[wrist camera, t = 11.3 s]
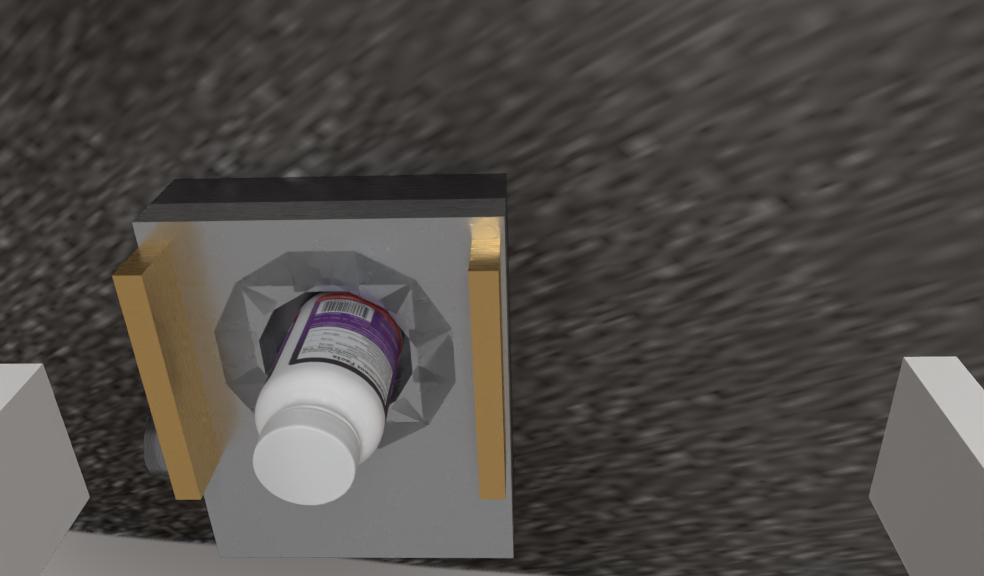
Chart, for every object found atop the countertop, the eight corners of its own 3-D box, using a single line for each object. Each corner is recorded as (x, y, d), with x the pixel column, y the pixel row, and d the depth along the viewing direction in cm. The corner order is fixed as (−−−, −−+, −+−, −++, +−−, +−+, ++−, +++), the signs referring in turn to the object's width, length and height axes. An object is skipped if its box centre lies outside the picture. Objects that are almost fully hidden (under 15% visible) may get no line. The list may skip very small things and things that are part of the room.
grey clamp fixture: (113, 180, 40) (27, 254, 33) (506, 173, 39) (502, 248, 32) (197, 493, 50) (144, 601, 43) (514, 492, 49) (512, 603, 42)
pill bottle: (346, 396, 42) (301, 539, 34) (271, 324, 40) (203, 456, 32) (427, 342, 40) (402, 479, 32) (353, 264, 39) (304, 387, 30)
